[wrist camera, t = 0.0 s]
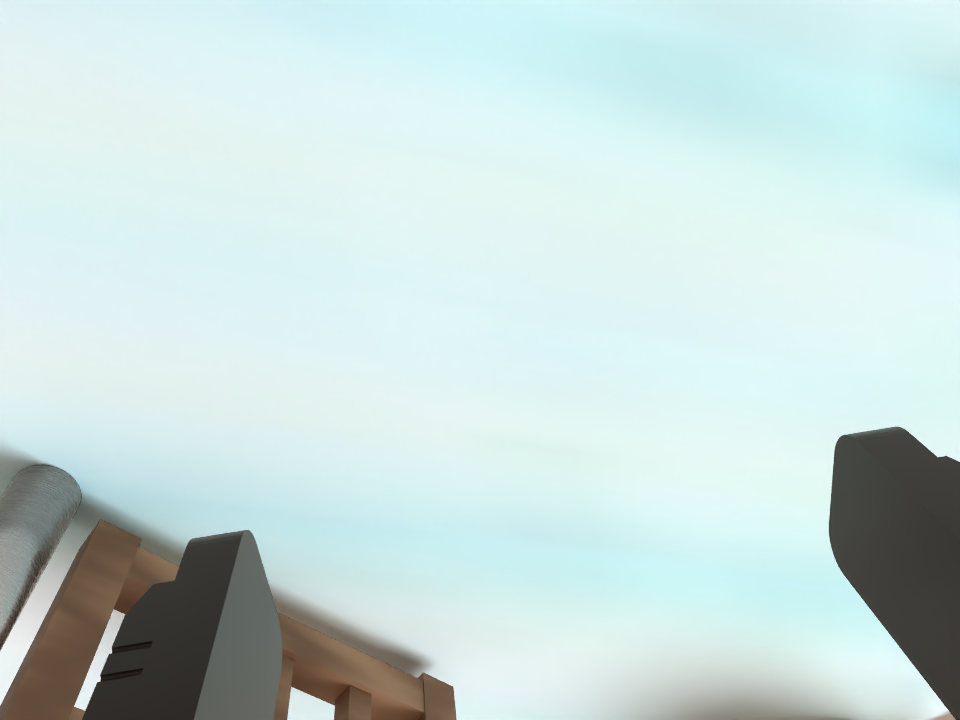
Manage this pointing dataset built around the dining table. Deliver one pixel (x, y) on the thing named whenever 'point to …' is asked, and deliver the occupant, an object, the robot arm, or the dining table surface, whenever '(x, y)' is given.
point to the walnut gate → (132, 571)
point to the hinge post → (31, 533)
